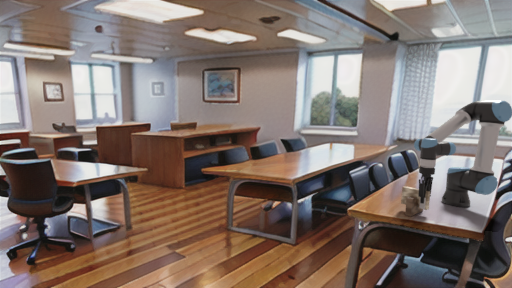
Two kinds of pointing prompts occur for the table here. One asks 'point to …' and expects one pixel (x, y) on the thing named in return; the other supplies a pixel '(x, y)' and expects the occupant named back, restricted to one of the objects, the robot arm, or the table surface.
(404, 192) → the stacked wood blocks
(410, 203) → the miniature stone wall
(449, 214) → the table surface
